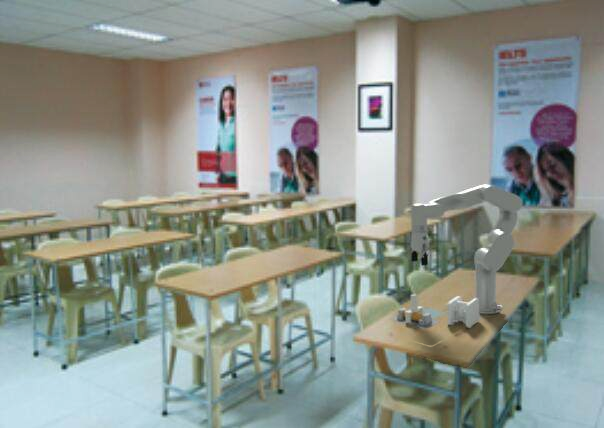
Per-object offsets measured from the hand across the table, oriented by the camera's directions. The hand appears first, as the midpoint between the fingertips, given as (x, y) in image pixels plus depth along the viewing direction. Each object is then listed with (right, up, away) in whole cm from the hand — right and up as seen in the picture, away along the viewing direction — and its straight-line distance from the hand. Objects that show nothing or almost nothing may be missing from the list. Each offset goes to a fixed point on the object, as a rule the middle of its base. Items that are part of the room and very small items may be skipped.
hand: (419, 263), depth 253 cm
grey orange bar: (-5, -26, -10) cm, 28 cm away
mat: (+3, -25, +2) cm, 25 cm away
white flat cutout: (-5, -27, -9) cm, 29 cm away
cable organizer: (+17, -27, -15) cm, 35 cm away
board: (-5, -27, -9) cm, 29 cm away
